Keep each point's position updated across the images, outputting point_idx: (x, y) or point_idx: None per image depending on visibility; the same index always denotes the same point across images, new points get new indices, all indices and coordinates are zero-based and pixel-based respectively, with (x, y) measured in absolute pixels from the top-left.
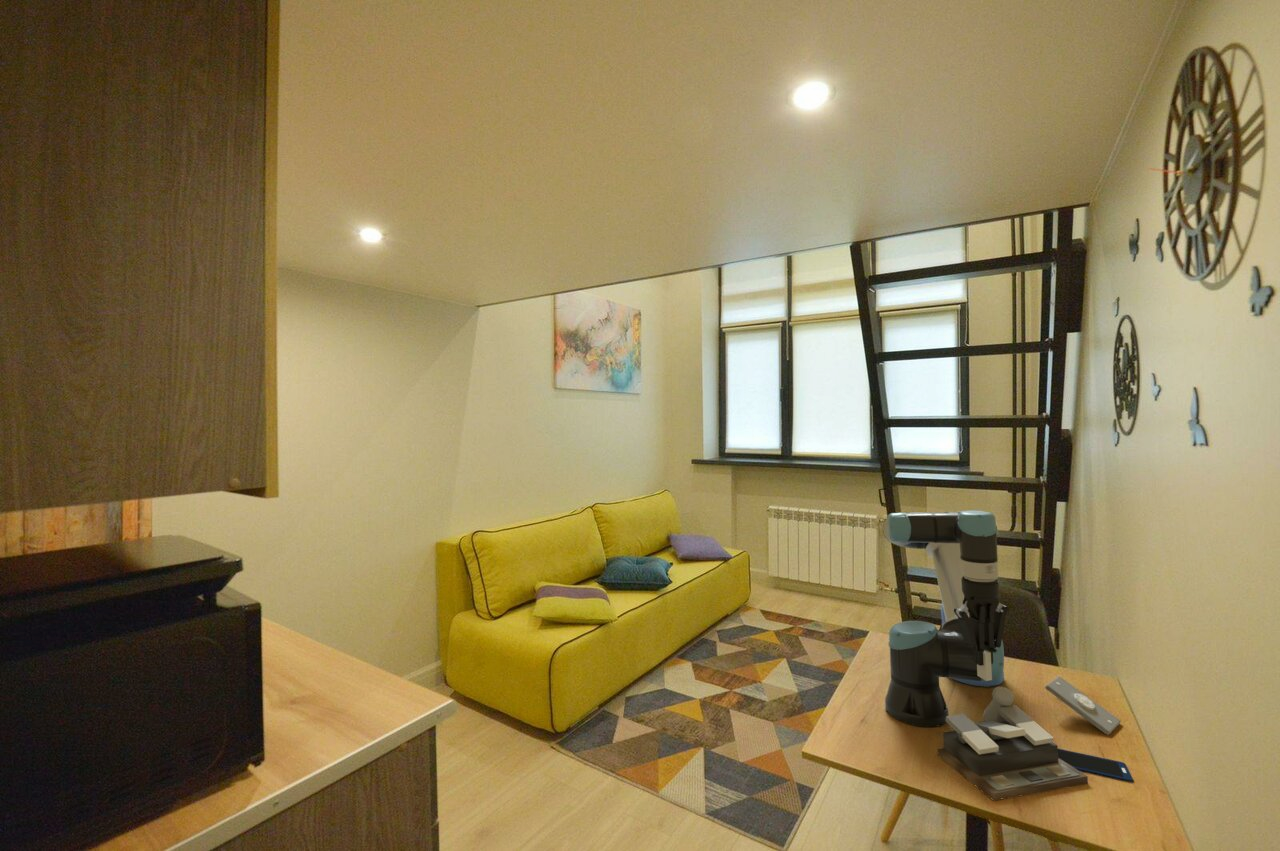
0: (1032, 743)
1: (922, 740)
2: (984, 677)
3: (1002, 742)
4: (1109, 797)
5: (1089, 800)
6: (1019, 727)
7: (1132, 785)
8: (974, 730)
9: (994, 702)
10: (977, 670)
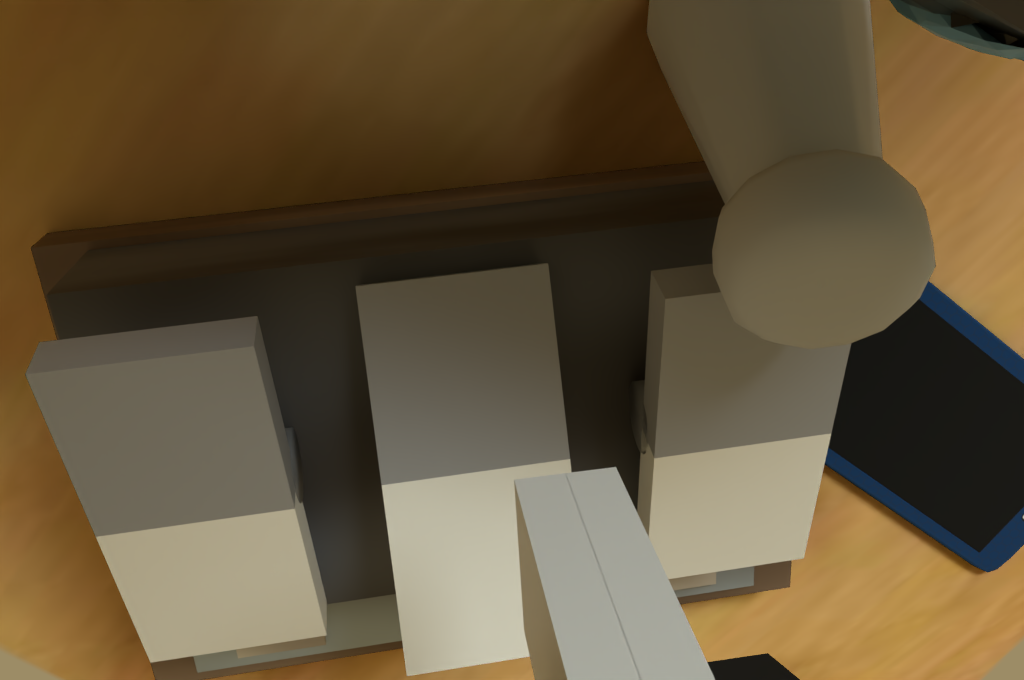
0: None
1: (16, 9)
2: (526, 628)
3: None
4: (768, 653)
5: None
6: (650, 481)
7: (960, 587)
8: (227, 518)
9: (728, 172)
10: (529, 534)
